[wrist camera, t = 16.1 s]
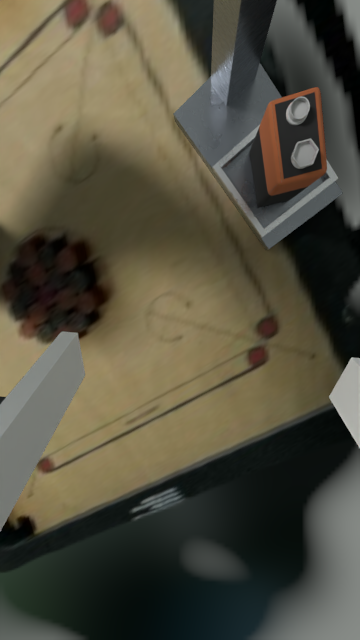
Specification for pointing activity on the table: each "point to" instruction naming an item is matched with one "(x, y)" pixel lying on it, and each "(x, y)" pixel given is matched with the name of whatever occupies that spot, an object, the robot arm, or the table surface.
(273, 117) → the battery
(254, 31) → the arbor press
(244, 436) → the table surface
